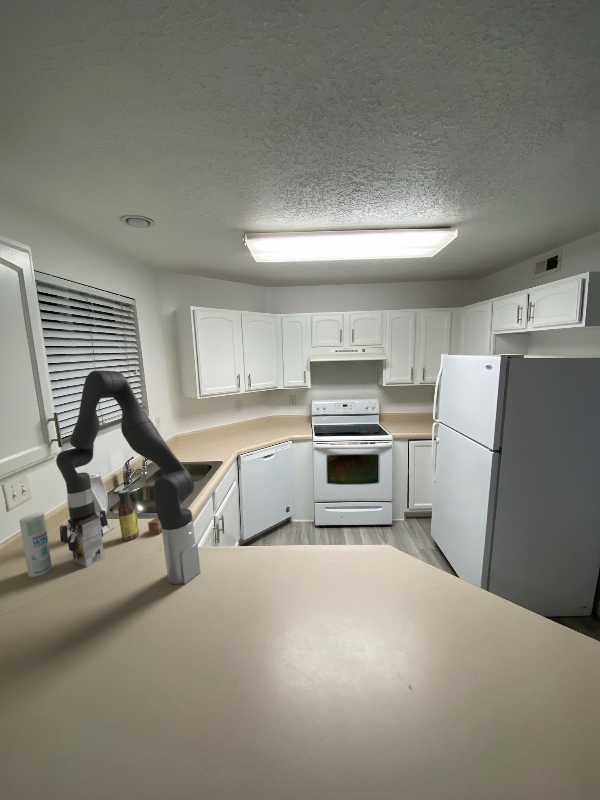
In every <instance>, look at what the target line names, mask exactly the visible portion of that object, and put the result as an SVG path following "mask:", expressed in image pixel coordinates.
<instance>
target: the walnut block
mask: <svg viewBox="0 0 600 800" xmlns="http://www.w3.org/2000/svg"><path fill="white" fill-rule="evenodd" d="M147 527H148V534H150V535H160V534H161V535H162V528H161V523H160V521H159V519H158V516H156V517H155V518H152V519H151V520H150V521H148V522H147Z"/></svg>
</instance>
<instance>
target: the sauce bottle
mask: <svg viewBox="0 0 600 800" xmlns="http://www.w3.org/2000/svg"><path fill="white" fill-rule="evenodd" d="M130 494H131V492H130V489H123V490H120V491H119V492H118V494H117V496H118V497H119V506H118V508H117V512H118V521H119V526H120V531H121V532H120V533H121V537H122V540H123V541H127V542H128V541H132V540H134V539H135V538H137V537H139V535H140V534H139V531H140V528H139V525H138V517H137V511H136V509H137V508H136V506H135V505H134V503H133V501H132V499H131V495H130Z"/></svg>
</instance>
